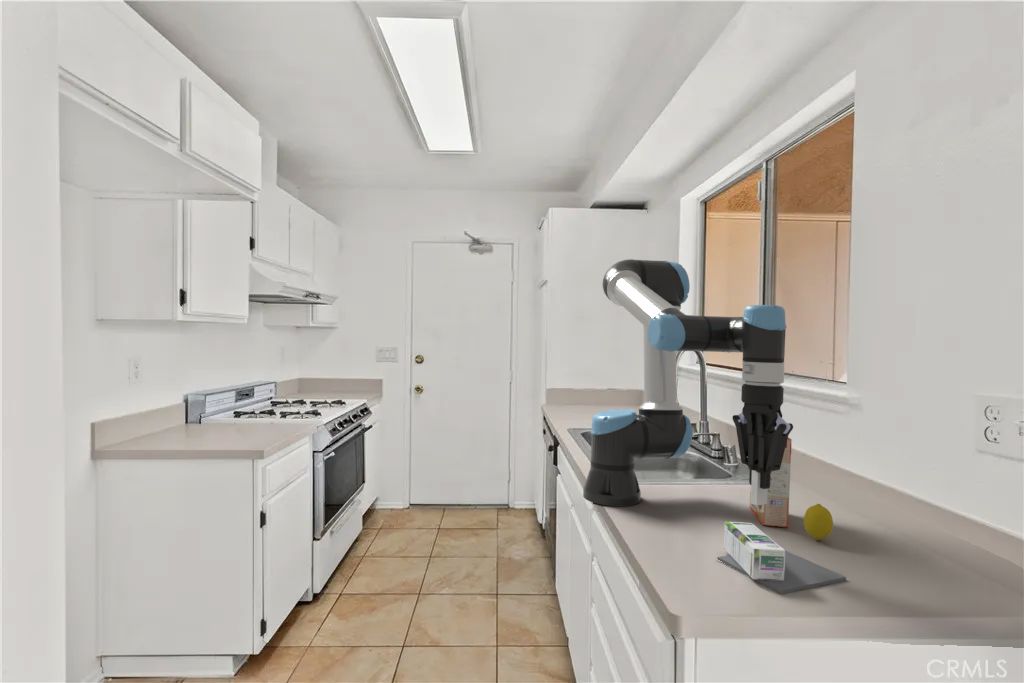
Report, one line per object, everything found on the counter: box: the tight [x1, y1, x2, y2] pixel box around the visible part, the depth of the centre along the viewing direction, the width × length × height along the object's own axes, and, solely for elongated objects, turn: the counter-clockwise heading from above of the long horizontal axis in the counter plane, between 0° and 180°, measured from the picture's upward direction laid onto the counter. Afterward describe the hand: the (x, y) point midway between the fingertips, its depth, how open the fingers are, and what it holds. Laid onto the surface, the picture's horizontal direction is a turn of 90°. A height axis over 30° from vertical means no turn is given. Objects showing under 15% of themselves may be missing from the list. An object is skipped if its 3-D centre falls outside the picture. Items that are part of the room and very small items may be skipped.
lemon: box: [803, 503, 834, 541], centre depth 120 cm, size 6×6×8 cm
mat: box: [716, 549, 847, 595], centre depth 104 cm, size 15×16×1 cm
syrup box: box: [723, 521, 785, 581], centre depth 105 cm, size 6×6×14 cm
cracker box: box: [749, 436, 793, 528], centre depth 135 cm, size 14×6×21 cm, turn 168°
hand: (759, 503), depth 109 cm, fingers closed
